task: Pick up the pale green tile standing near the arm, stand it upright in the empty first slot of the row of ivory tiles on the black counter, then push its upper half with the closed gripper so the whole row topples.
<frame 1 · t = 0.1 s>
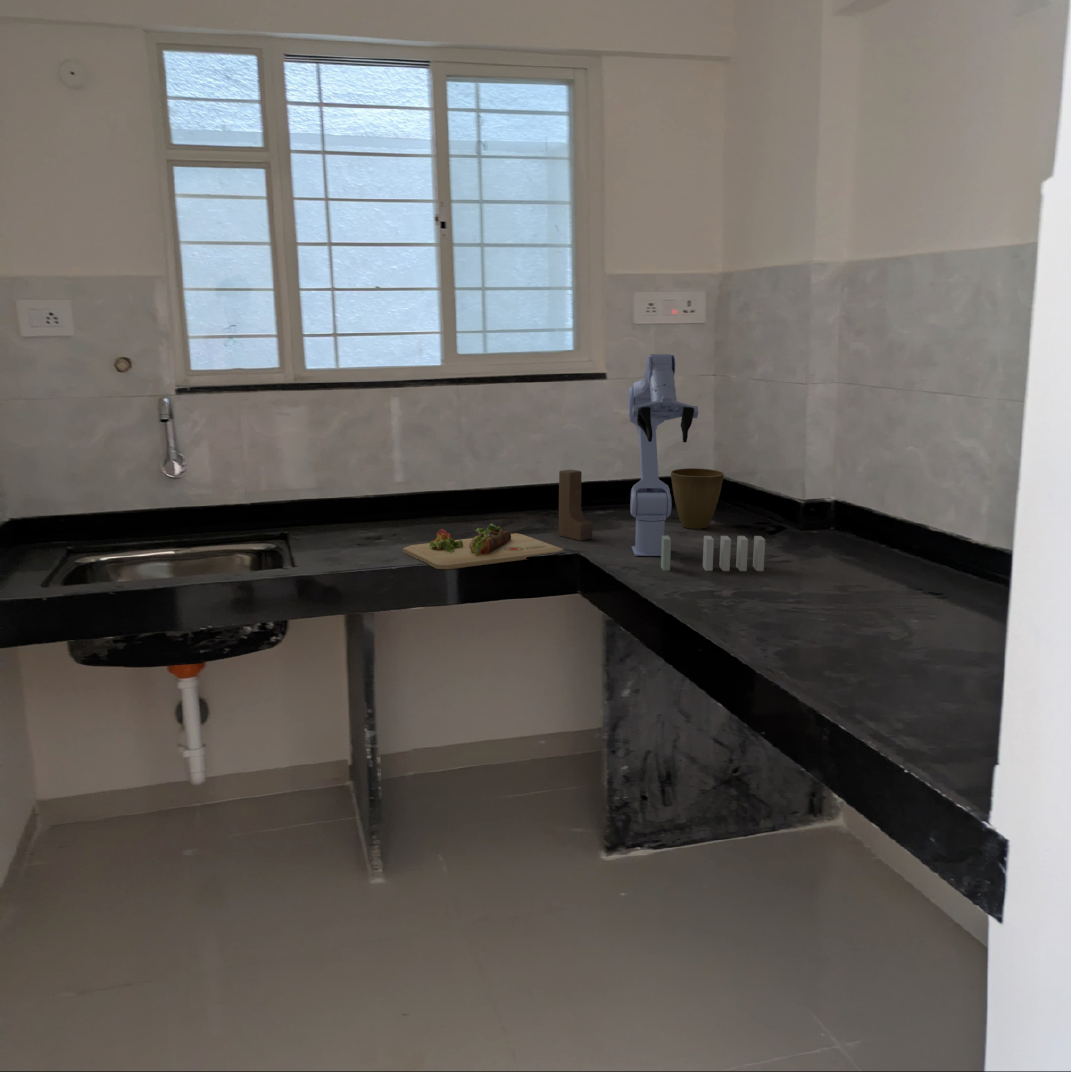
hand: (667, 439, 215), 32 cm above the worktop, tool tilted 50°, fingers open, 7 cm apart
domino 3: (724, 568, 233), on the worktop
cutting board: (483, 555, 249), on the worktop
wooden block: (575, 538, 267), on the worktop
domino 2: (707, 568, 233), on the worktop
domino 5: (758, 568, 233), on the worktop
plant pot: (695, 527, 282), on the worktop
domino 4: (741, 568, 233), on the worktop
domino 1: (665, 568, 233), on the worktop
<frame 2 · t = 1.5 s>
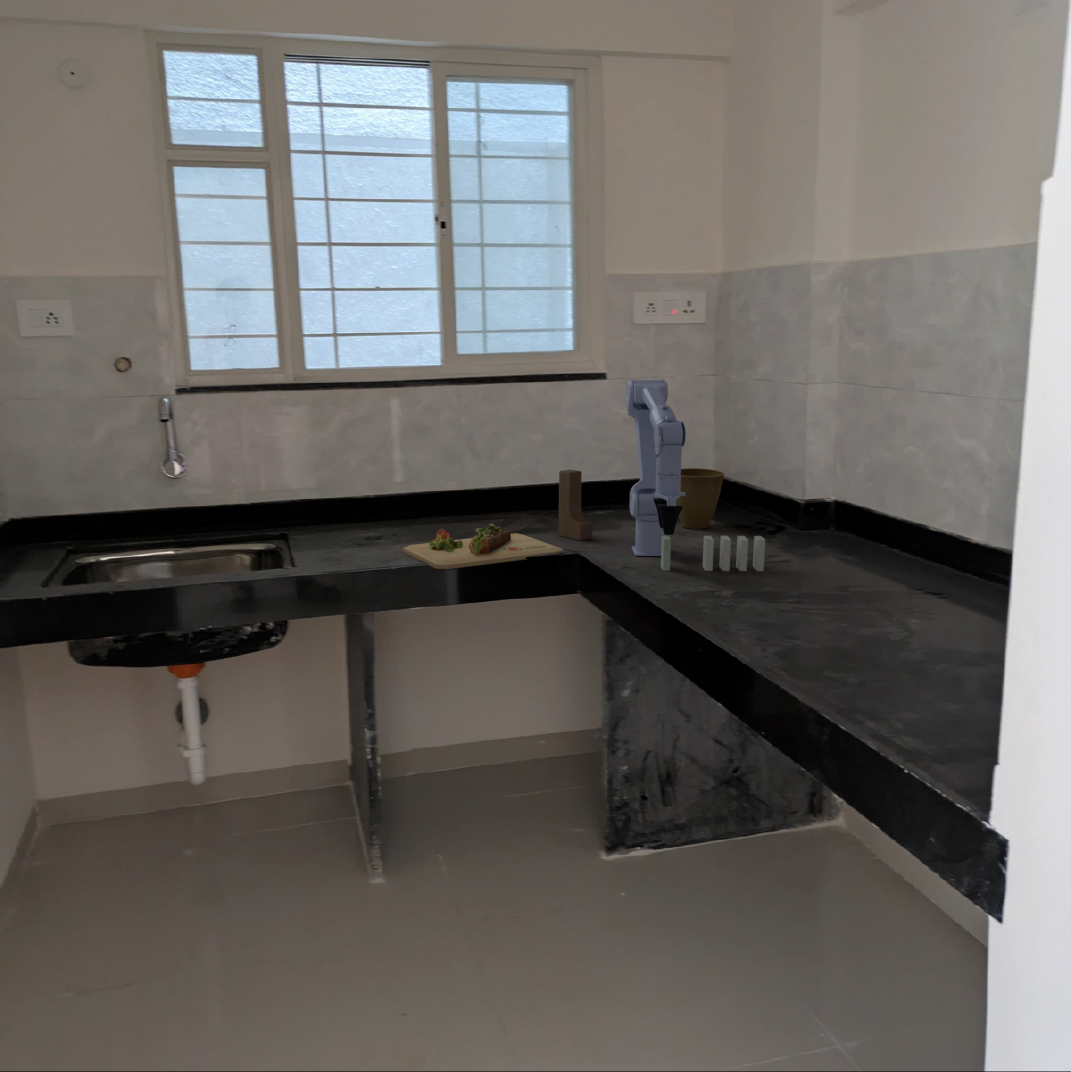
hand: (666, 531, 231), 9 cm above the worktop, tool pointing down, fingers open, 7 cm apart
nothing on the worktop moved.
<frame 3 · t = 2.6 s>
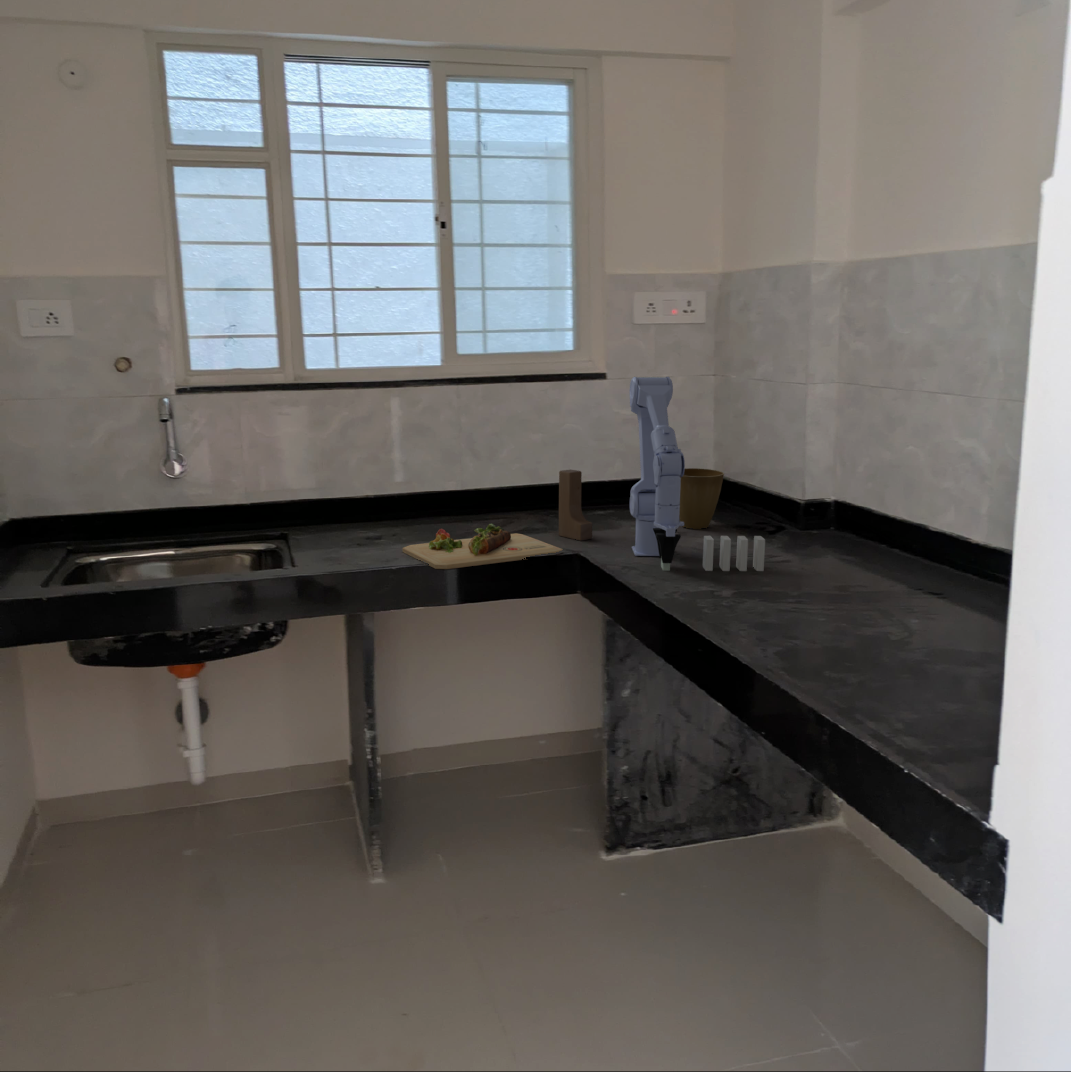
hand: (665, 560, 233), 2 cm above the worktop, tool pointing down, fingers closed on domino 1, 4 cm apart
domino 1: (665, 568, 233), on the worktop, touching gripper
everything else where it was.
when the fingers open (3 cm above the worktop, at t = 5.6 s): domino 1 stays where it is, on the worktop.
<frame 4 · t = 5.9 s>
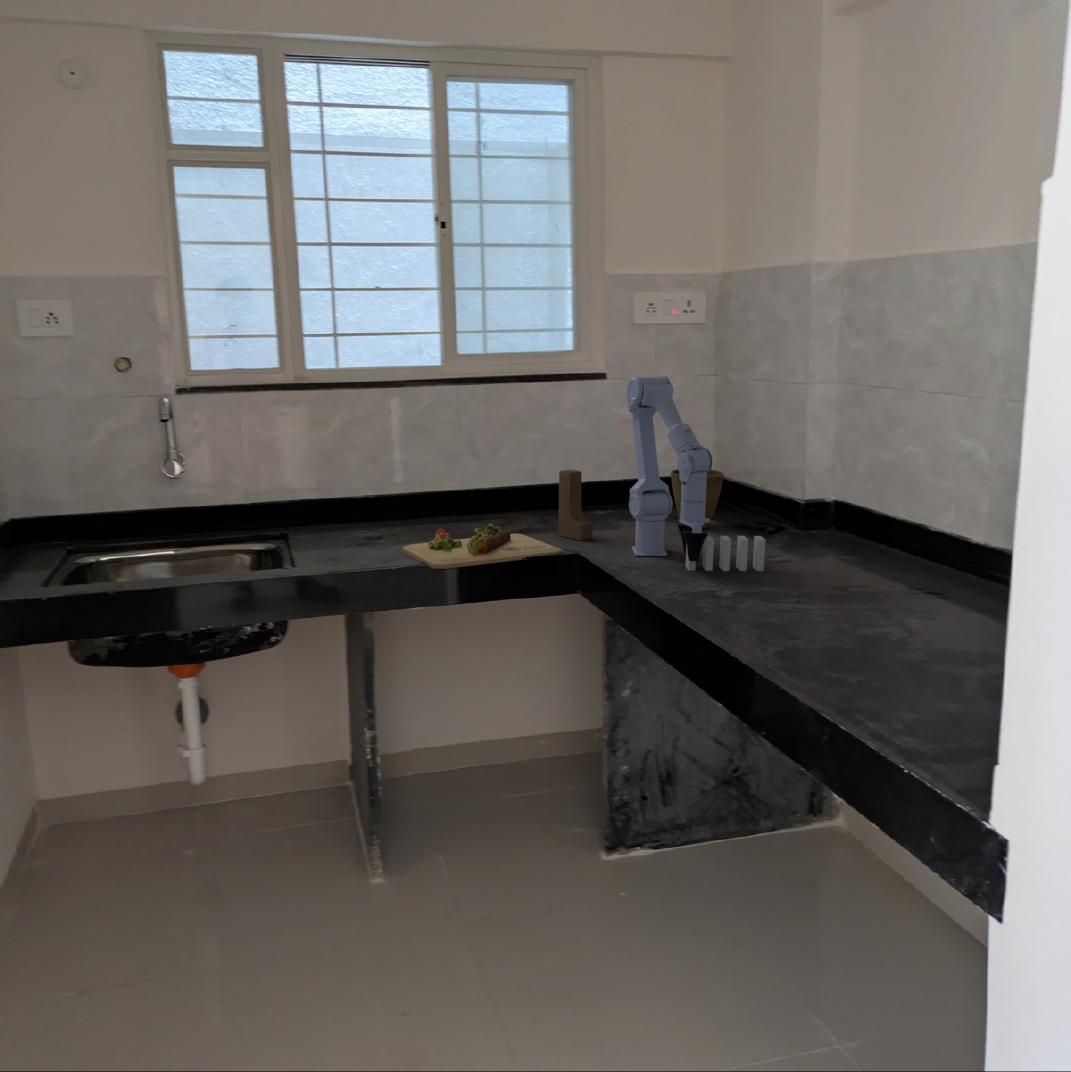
hand: (691, 557, 233), 3 cm above the worktop, tool pointing down, fingers open, 7 cm apart
domino 1: (690, 568, 233), on the worktop
everything else where it was.
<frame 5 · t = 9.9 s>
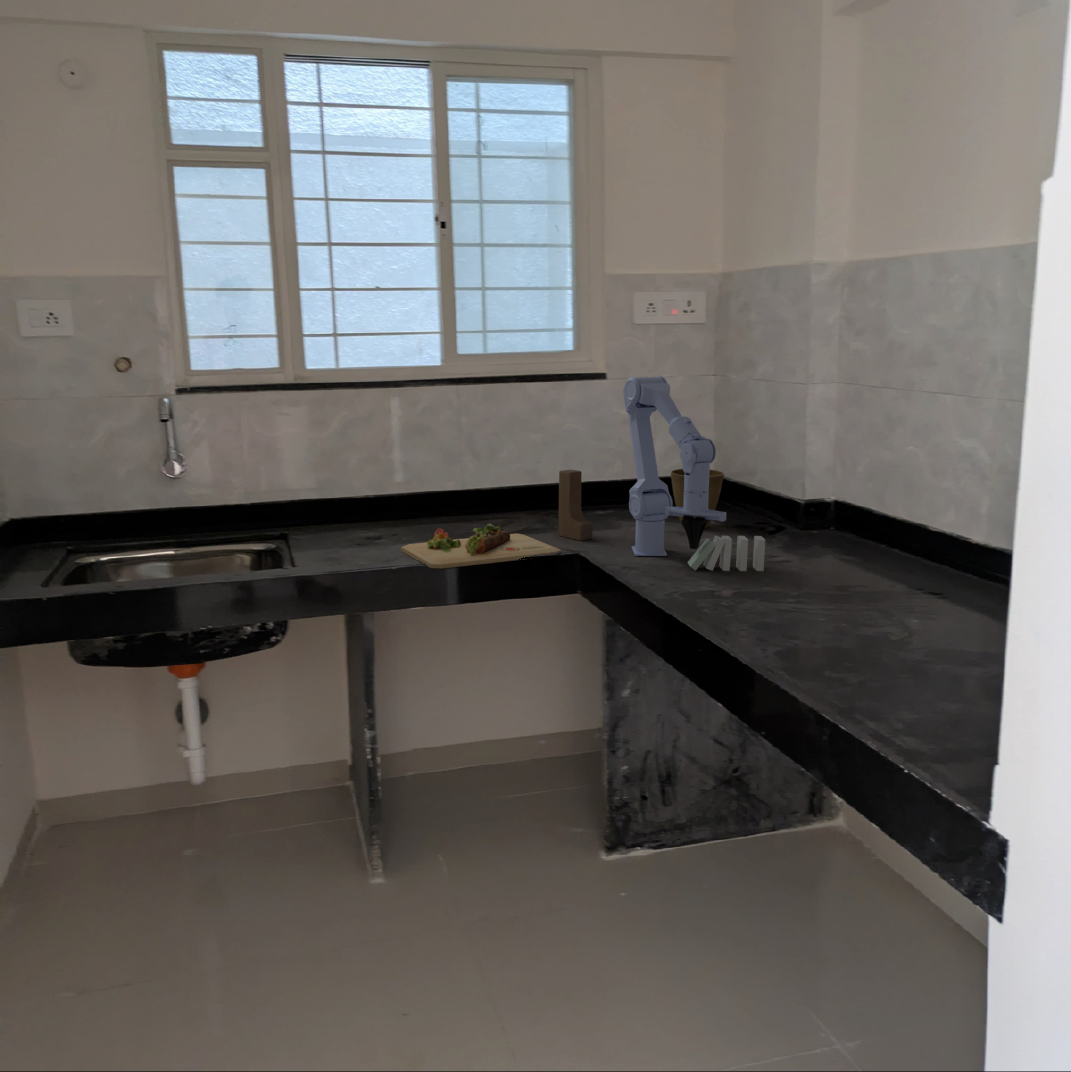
hand: (694, 548, 232), 5 cm above the worktop, tool pointing down, fingers closed
domino 2: (707, 567, 233), on the worktop, tilted 20°
domino 1: (691, 566, 233), on the worktop, tilted 37°
everything else where it was.
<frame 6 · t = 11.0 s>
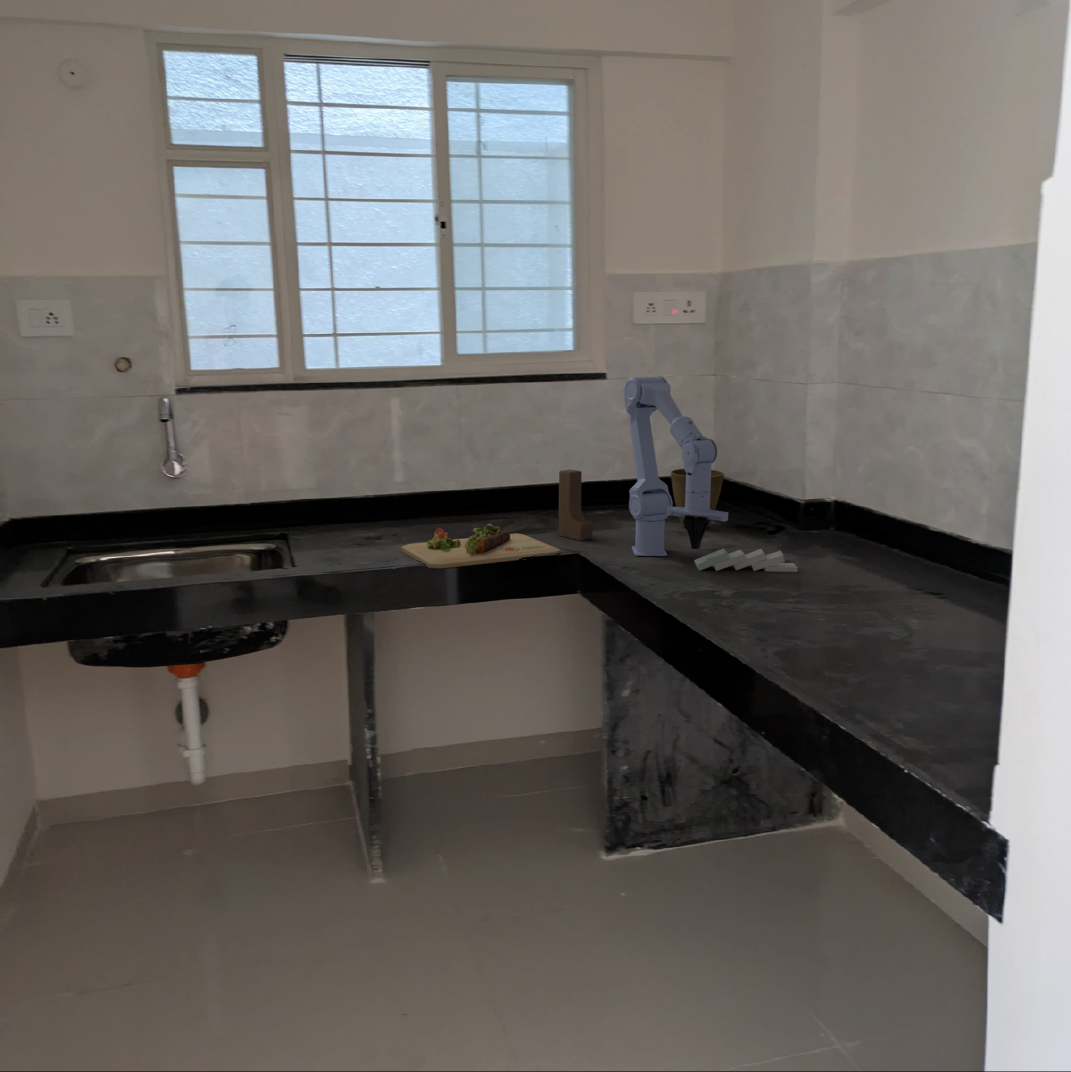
hand: (695, 548, 232), 5 cm above the worktop, tool pointing down, fingers closed
domino 3: (733, 565, 233), point 1 cm above the worktop, tilted 67°, touching domino 4
domino 2: (713, 565, 233), point 1 cm above the worktop, tilted 69°, touching domino 1
domino 5: (763, 568, 233), on the worktop, tilted 90°, touching domino 4
domino 4: (751, 565, 233), point 1 cm above the worktop, tilted 70°, touching domino 3, domino 5
domino 1: (696, 565, 233), point 1 cm above the worktop, tilted 67°, touching domino 2
everything else where it was.
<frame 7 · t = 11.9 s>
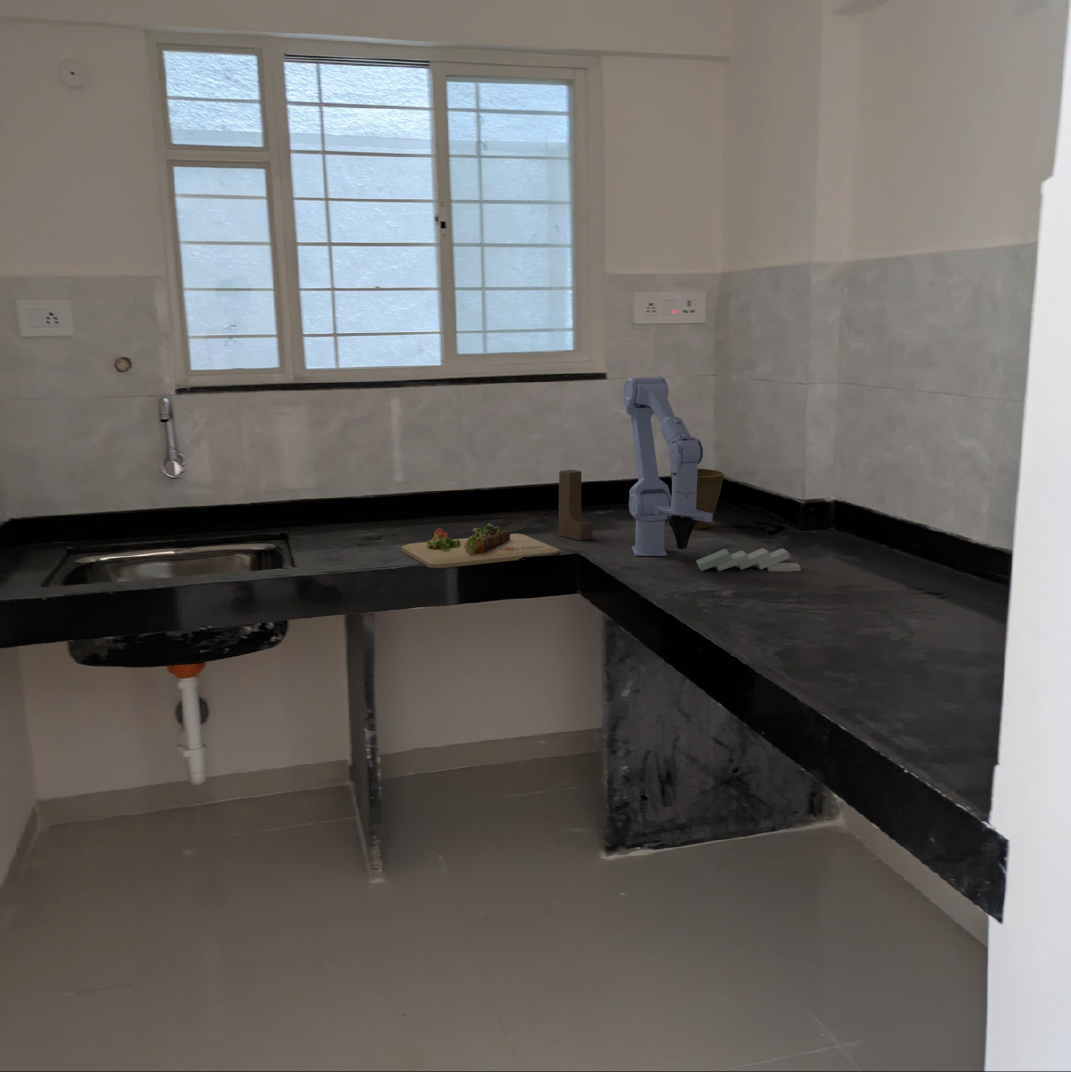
hand: (682, 548, 232), 5 cm above the worktop, tool pointing down, fingers closed
domino 3: (737, 564, 234), point 1 cm above the worktop, tilted 68°, touching domino 2, domino 4
domino 2: (715, 565, 233), point 1 cm above the worktop, tilted 71°, touching domino 1, domino 3
domino 4: (756, 564, 233), point 1 cm above the worktop, tilted 68°, touching domino 3, domino 5
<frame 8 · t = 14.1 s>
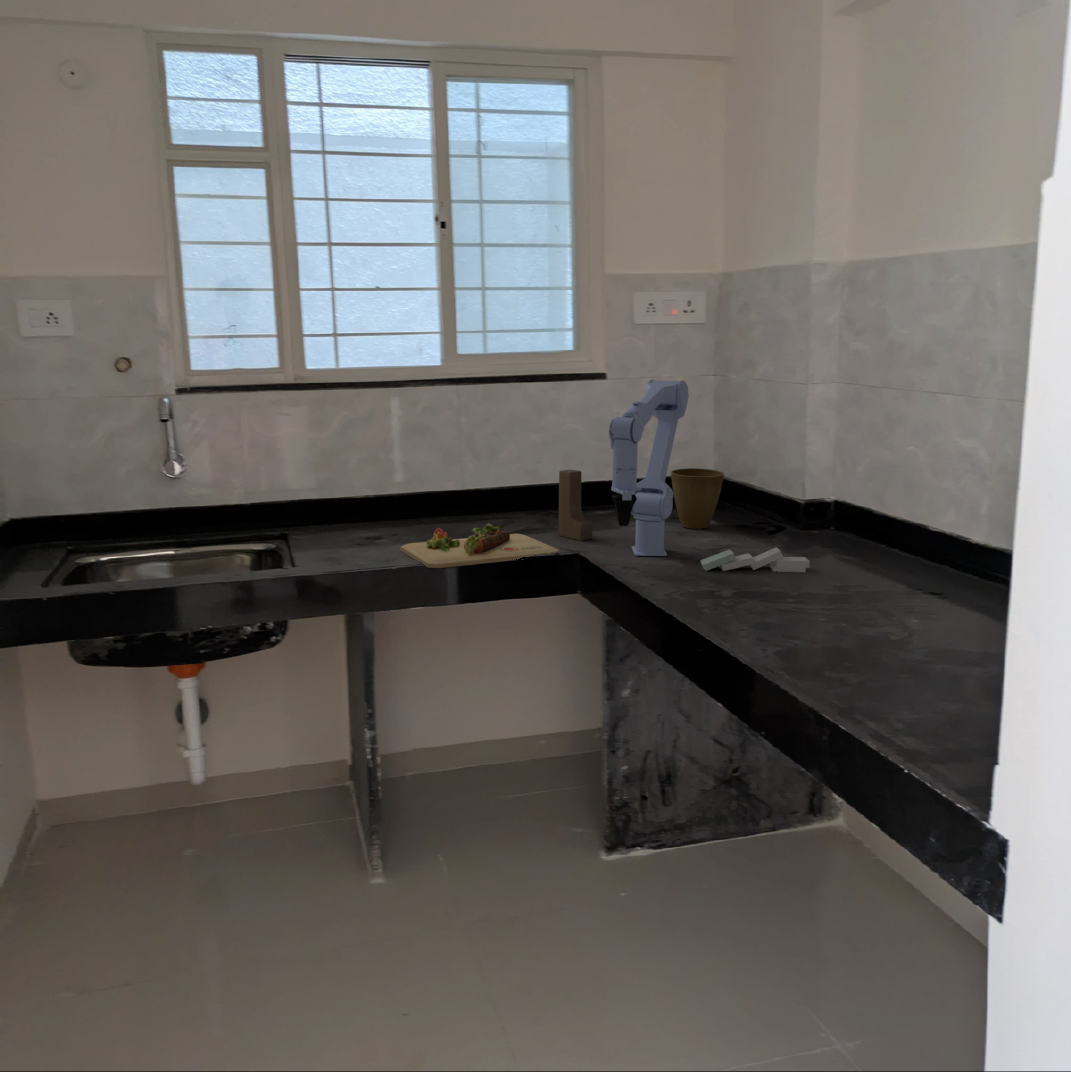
hand: (623, 525, 233), 10 cm above the worktop, tool pointing down, fingers closed
domino 3: (750, 565, 234), point 1 cm above the worktop, tilted 64°, touching domino 2, domino 4
domino 2: (720, 565, 233), point 1 cm above the worktop, tilted 76°, touching domino 1, domino 3
domino 5: (771, 568, 233), on the worktop, tilted 90°, touching domino 4
domino 4: (775, 562, 232), point 2 cm above the worktop, tilted 90°, touching domino 3, domino 5
at the end: domino 5 tilted 90°; domino 3 tilted 65°; the gripper is holding nothing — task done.
